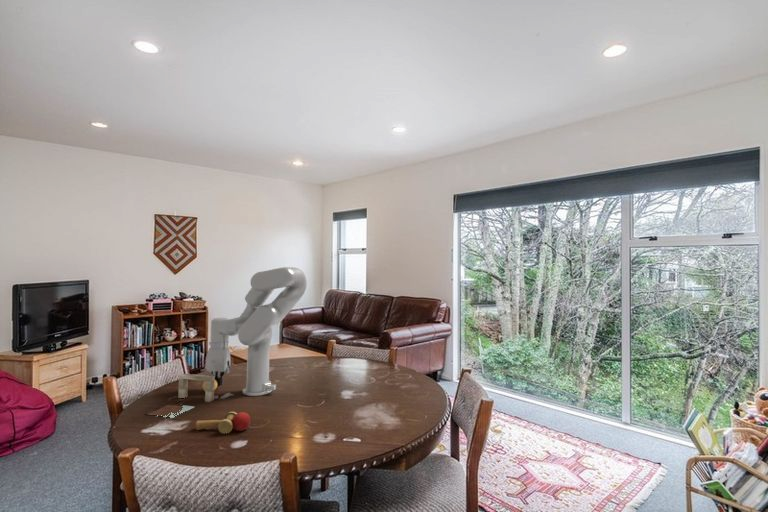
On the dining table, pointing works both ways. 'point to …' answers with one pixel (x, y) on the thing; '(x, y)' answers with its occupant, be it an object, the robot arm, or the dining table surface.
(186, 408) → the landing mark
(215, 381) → the ball
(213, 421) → the kendama
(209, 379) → the bridge
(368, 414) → the dining table surface
